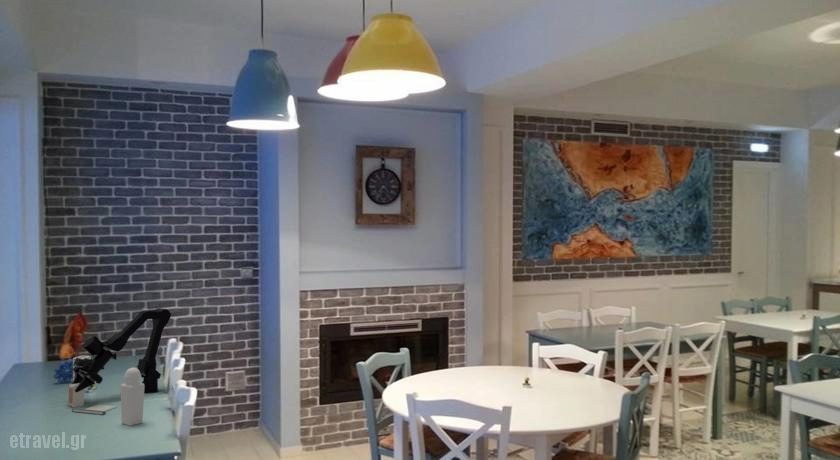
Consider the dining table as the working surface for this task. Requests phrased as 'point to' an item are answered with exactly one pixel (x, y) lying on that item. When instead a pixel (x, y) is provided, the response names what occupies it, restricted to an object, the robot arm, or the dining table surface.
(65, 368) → the grapes
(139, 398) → the grey bottle
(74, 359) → the syrup box
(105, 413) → the rail
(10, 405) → the dining table surface
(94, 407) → the pad
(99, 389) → the dining table surface
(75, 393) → the carton
